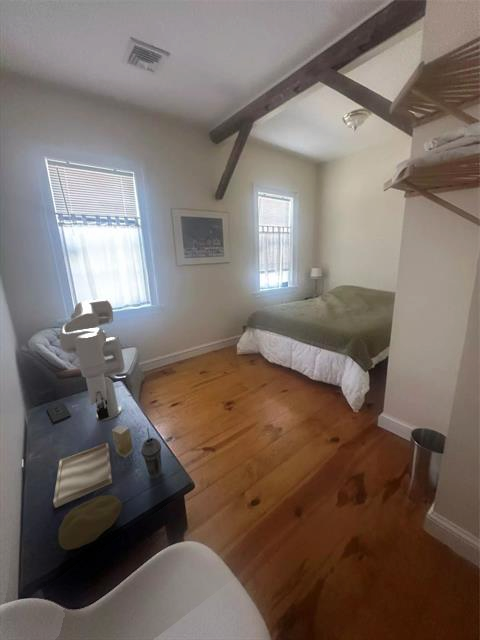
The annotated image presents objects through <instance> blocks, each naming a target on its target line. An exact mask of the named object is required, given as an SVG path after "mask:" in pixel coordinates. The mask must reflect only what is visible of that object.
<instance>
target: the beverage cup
mask: <svg viewBox="0 0 480 640" xmlns="http://www.w3.org/2000/svg"><path fill="white" fill-rule="evenodd" d="M146 431H147V432H146V433H147V438H146V439H145V441H143V443H142V445H141V452H140V453H141V456H143V457H142V458H143V459H144V462H145V466H146V469H147V473H148V475H149V478H150V479H157V478H159V477H160V476H161V475H162V473H163V472H162V469H163V468H162V456H161V455H162V454H161V453H162V444H161V442H160V440H159V439H158V438H156V437H151V435H150V430H149V427H146Z"/></svg>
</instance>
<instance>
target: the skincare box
mask: <svg viewBox="0 0 480 640" xmlns="http://www.w3.org/2000/svg"><path fill="white" fill-rule="evenodd" d="M111 433H112V438H113V443H114V448H115V454H117V455H118V456H121V457H122V458H124V459H126V458H127V457H128V456H130V455H131V454H132V453H134V448H133V447H134V446H133V441H132V436H131V430H130V427H127V426H125V425H122V424H118V425H116V426H115V427H114V428H113V429H111Z"/></svg>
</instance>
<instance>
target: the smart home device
mask: <svg viewBox="0 0 480 640" xmlns="http://www.w3.org/2000/svg"><path fill="white" fill-rule="evenodd" d="M46 411H47V413H48V415H49V418H50V420H51V422H52V423H53V424H55V425H56V424H58V423H60V422H62V421H65V420H67V419H69V418H71V417H72V415H71V413H70V411H69V409H68V408H67V407H66V404H64V402H58V403H57V404H54V405H51V406H48V407H46Z"/></svg>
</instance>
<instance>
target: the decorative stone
mask: <svg viewBox="0 0 480 640" xmlns="http://www.w3.org/2000/svg"><path fill="white" fill-rule="evenodd" d="M122 508H123V503H122V501H121V500H120V499H119V498H118V497H117V496H116V495H111V494H109V495H107V494H106V495H100V496H96V497H94V498H92V499H90V500H88V501H85V502H83V503H81V504H79V505H76V506H75V507H73V508H72V509H70V510H69V511H68V512H67V514H65V515H64V517H63V520H62V523H61V525H60V526H59V529H58V544H59V546H60V547H61V549H62V550H65V551H70V550H76V549H78V548H81V547H83V546H85V545H88V544H91V543H93V542H94V541H96V540H97V539H98V538H99V537H100V536H101V535H102V534H103V533H104V532H105V531H107V530H108V529H109V528H112V526H113V525H114V523H116V521H117V520H118V518H119V516H120V514H121V512H122Z"/></svg>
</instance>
